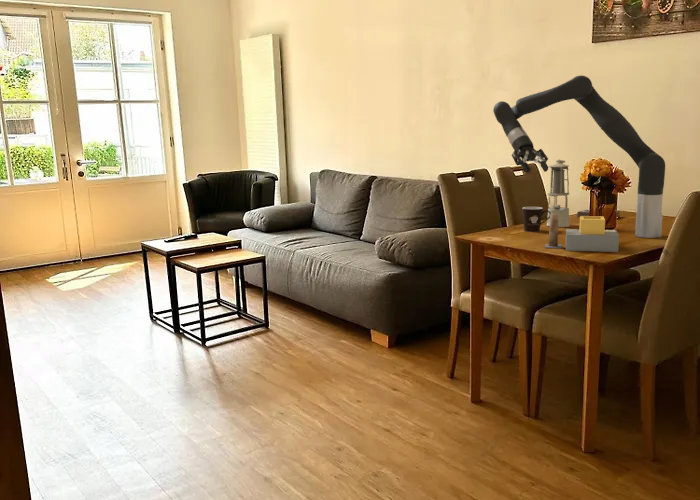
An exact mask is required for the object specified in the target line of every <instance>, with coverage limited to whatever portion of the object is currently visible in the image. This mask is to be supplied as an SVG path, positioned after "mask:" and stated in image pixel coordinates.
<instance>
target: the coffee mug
mask: <svg viewBox="0 0 700 500" xmlns="http://www.w3.org/2000/svg"><path fill="white" fill-rule="evenodd" d="M521 210H522V219H523V230H524V232H531V233H534V232H535V233H536V232H537V233H538V232H540V230H541V229H540V228H541V225H542V224H544V223H545V222H547V220H548V219H549V218H550V216H549V217H548V216H547V217H548V218H546V219H544V220H543V221H542V216H543V214H545V212H547V213H548V212H549V214H551V212H550V211H548V209H547V210H546V209H544V210H543V207H541V206H524V207H522V209H521Z"/></svg>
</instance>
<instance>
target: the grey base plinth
mask: <svg viewBox="0 0 700 500" xmlns="http://www.w3.org/2000/svg"><path fill="white" fill-rule="evenodd" d="M578 228H579V229H578ZM578 228H577V229H576V228H575V229H573V228H571V229H569V228H566V229H565V244H564V245H565V251H569V252H570V251H571V252H572V251H573V252H574V251H576V252H602V253H603V252H604V253H605V252H606V253H608V252H609V253H618V252H619V246H620V245H619V244H620V234H619V232H618V230H617V229H605V228H606V218H604V216H580V217H579V227H578Z"/></svg>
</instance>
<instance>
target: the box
mask: <svg viewBox="0 0 700 500" xmlns="http://www.w3.org/2000/svg"><path fill="white" fill-rule="evenodd" d="M589 210H590V209H582V210H578V211H577V215H576V217H577V218H580V216H589ZM616 211H617V218H619V217H620V216H621V215H620V212H621V211H620V210H616Z"/></svg>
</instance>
